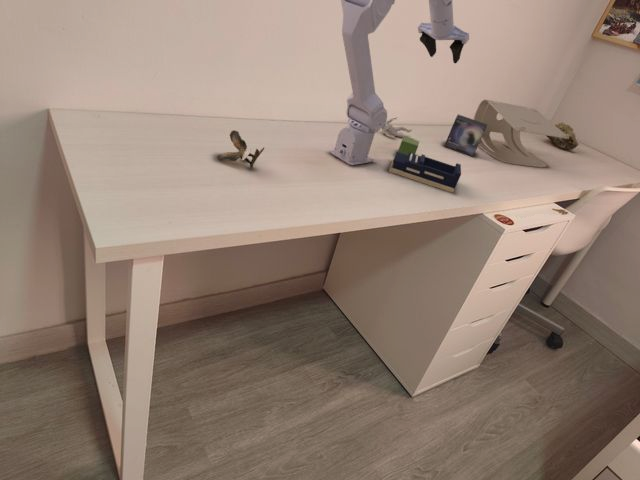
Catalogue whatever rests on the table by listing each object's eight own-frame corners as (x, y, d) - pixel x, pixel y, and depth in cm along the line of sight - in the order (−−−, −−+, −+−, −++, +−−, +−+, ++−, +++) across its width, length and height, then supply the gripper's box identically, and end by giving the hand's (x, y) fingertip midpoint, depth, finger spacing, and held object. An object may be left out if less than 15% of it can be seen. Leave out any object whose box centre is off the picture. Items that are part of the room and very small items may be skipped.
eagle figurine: (263, 157, 106) (231, 138, 106) (265, 140, 99) (231, 120, 100) (246, 181, 103) (212, 161, 103) (247, 164, 96) (211, 143, 96)
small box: (443, 146, 154) (455, 117, 149) (445, 142, 160) (457, 113, 154) (473, 157, 152) (486, 128, 147) (474, 152, 158) (487, 124, 152)
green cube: (412, 161, 133) (418, 145, 131) (396, 156, 134) (401, 140, 131) (413, 156, 137) (419, 141, 135) (397, 151, 138) (403, 136, 135)
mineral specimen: (577, 150, 201) (589, 129, 196) (571, 154, 191) (584, 132, 186) (546, 138, 207) (557, 117, 202) (538, 141, 198) (550, 119, 193)
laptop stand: (513, 143, 182) (531, 106, 174) (554, 169, 164) (576, 129, 156) (462, 136, 173) (479, 96, 165) (500, 163, 154) (521, 119, 146)
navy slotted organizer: (452, 182, 127) (460, 164, 124) (452, 192, 120) (461, 174, 117) (392, 161, 129) (398, 144, 126) (388, 171, 121) (395, 152, 119)
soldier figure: (409, 145, 150) (383, 129, 144) (399, 149, 154) (373, 134, 148) (412, 124, 152) (386, 108, 146) (402, 129, 156) (376, 114, 150)
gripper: (475, 10, 114) (475, 54, 125) (426, 0, 121) (430, 42, 133) (460, 28, 112) (461, 71, 124) (411, 17, 120) (417, 58, 131)
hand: (444, 57), depth 128 cm, fingers open, 7 cm apart
